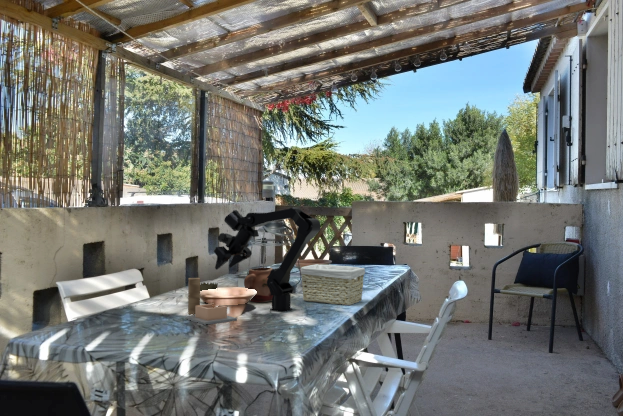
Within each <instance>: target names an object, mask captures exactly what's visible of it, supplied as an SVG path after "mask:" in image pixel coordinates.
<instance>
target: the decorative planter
mask: <svg viewBox="0 0 623 416" xmlns="http://www.w3.org/2000/svg"><path fill="white" fill-rule="evenodd" d="M272 269H273V268H272V267H254V268H253V267H252V268H249V270H248V273H247V274H246V275H247V276H246V278H245V280H244V286H245V288H248V289H255V290H256V291H257V294H256V295H255V296H254V297H253V298H252V299H251V300H250V299H249V301H250V302H253V303H266V302H267V303H268V302H272V297H273V295H271V294H270V290H269V288H268V285H267V279H268V278H267V277H268V276H269V275H270V272H271V270H272Z"/></svg>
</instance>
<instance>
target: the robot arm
mask: <svg viewBox="0 0 623 416" xmlns="http://www.w3.org/2000/svg"><path fill="white" fill-rule="evenodd" d="M289 219H291V220H292V222H293V223H294V225H296V226H297V230H296V238H295V239H294V241H293V243H292V245H291V246H290V248H289V250H288V252H287V253H286V255H285V257H284V258H283V260H282V262H281V264H280V266H278V267H277V268H272V270H271V272H270V275H269V276H268V277H267V278H268V279H267V285H268V288H269V290H270V294H271V295H273V297H272V301H271V308H270V311H274V312H275V311H276V312H283V313H285V312H288V311H292V310H293V309H294V308H292V307H291V294H293V292H294V287H293V286H292V284H291V283H290V280H291V272H292V270H293V269H294V267H295V265H296V263H297V262H298V260H299V258H300V257H301V255H302V253H303V251H304V250H305V248H306V246H307V244H308V243H309V242H310V241H311V240H313V238H315V237H316V235H317V234H318V233H319V232H320V231H321V228H322V226H321V223H320V221H319V220H318V219H317V218H315V217H314V218H313V216H311V215H309V214H308V213H306V212H305V211H303V210H302V209H300V208H299V207H289V208H285V209H279V210H273V211H269V212H248V213H246V215H245V216H243V215H242V214H241V213H240V212H239V210H237V209H233V210H232V211H231V212H229V214H227V215H226V216H225V217H224V219H223V220H224V223H225V224H226V225H227V226H228V227H229V228H230V229H231V230H232V231H234V232H237V233H236V234H235V235H231V234H229V233H225V232H221V233H219V235H218V236H217V240H218V241H219V242H220V243H223V244H225V246H216V247H215V248H214V249H213V253H214V254H215V256H216V263H215V267H214V269H215V270H219V269H220V268H221V267H223V266H224V265H225V264H227V262H229V260H230V259H231V257H232V259H231V261H230V262H229V265H228V267H229V268H233V267H235V266H237V265H238V264H240V263H242V262H243V261H245V260H247V259H249V258H251V256H252V254H253V253H252V250H251V249H250V248H249V246H250V244H249V242H250V241H251V240H252V237H253V238H258V237H259V234H260V233H259V231H258V229H255V228H260V227H263V226H265V225H268V224H270V223H272V222H277V221H284V220H289ZM227 248H228V249H227Z"/></svg>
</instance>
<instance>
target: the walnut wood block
mask: <svg viewBox="0 0 623 416" xmlns="http://www.w3.org/2000/svg"><path fill="white" fill-rule="evenodd" d="M187 279H188V284H187V287H188V289H187V290H188V291H187V294H188V295H187V296H188V297H187V314H188V316H192V315H191V314H195V306H197V305H201V294H200V284H201V278H200V277H188V278H187Z"/></svg>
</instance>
